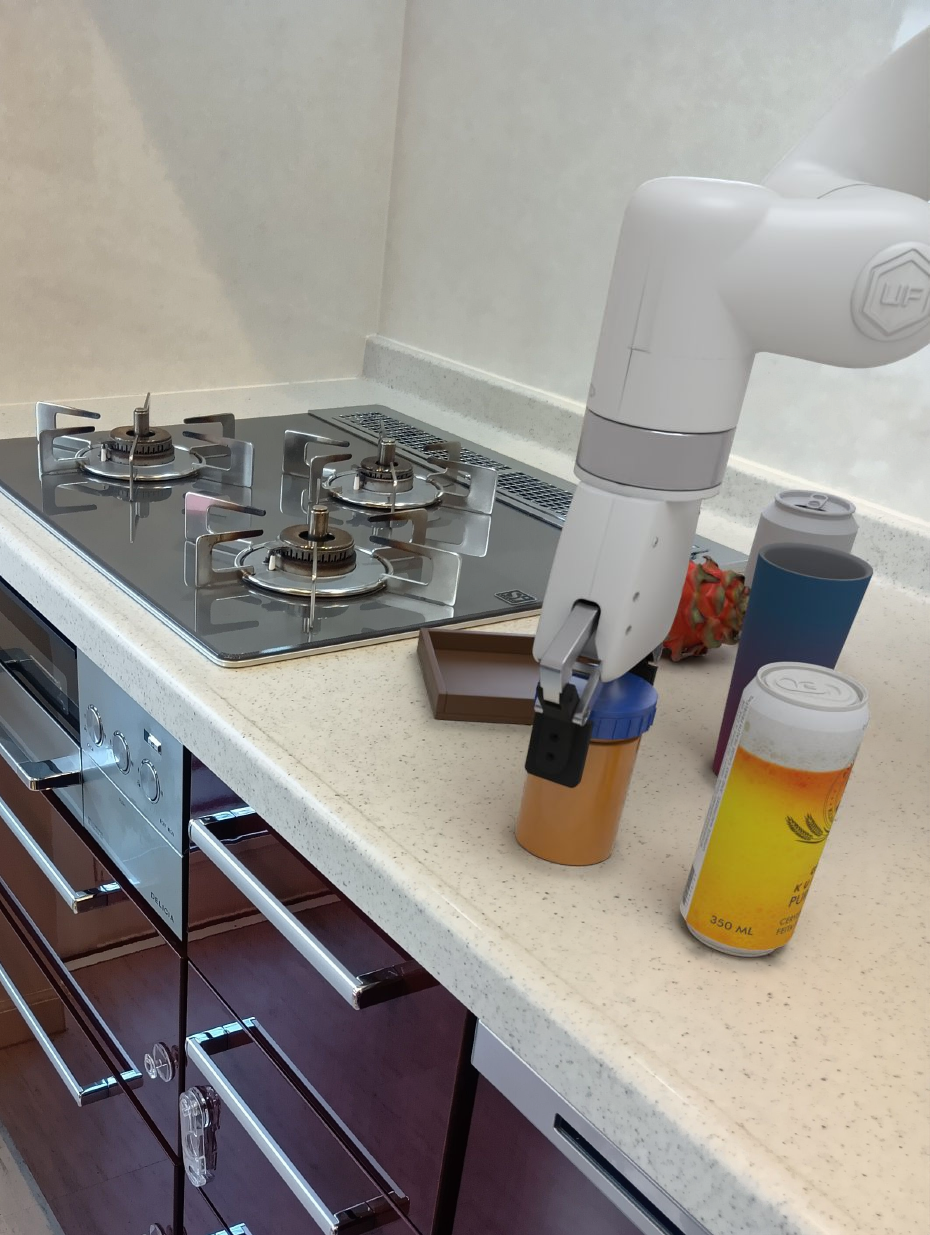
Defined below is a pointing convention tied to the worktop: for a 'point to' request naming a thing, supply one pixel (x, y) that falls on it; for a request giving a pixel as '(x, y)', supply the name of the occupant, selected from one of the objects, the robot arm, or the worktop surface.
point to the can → (804, 524)
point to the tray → (480, 674)
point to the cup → (794, 615)
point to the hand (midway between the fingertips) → (585, 748)
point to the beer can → (773, 806)
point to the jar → (579, 807)
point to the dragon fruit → (708, 610)
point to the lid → (620, 707)
